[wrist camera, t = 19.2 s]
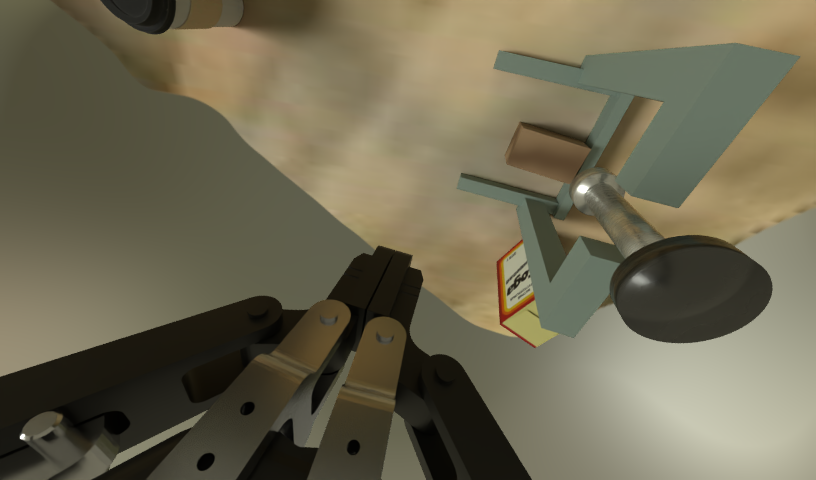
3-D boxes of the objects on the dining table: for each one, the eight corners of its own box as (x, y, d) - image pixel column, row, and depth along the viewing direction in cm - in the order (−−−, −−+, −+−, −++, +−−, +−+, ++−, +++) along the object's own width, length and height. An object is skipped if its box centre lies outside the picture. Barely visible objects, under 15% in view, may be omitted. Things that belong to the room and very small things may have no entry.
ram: (576, 149, 26) (668, 236, 13) (644, 166, 26) (811, 274, 13) (546, 206, 30) (596, 322, 16) (606, 222, 29) (707, 356, 16)
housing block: (519, 121, 42) (523, 127, 37) (580, 140, 41) (591, 149, 37) (504, 154, 44) (506, 164, 40) (561, 172, 44) (569, 184, 40)
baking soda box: (535, 228, 49) (553, 289, 36) (564, 249, 50) (592, 316, 37) (496, 262, 54) (500, 326, 41) (523, 280, 55) (535, 350, 42)
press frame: (503, 37, 37) (526, -1, 15) (639, 67, 35) (879, 72, 14) (455, 192, 49) (431, 294, 27) (555, 219, 47) (613, 350, 26)
